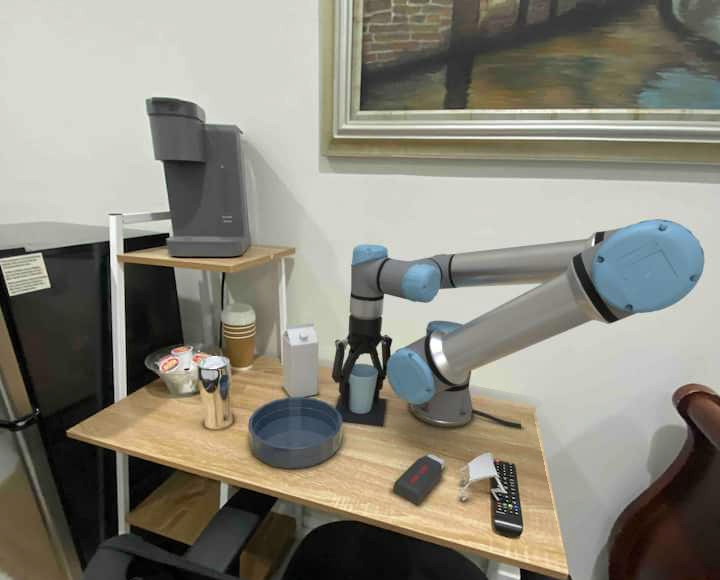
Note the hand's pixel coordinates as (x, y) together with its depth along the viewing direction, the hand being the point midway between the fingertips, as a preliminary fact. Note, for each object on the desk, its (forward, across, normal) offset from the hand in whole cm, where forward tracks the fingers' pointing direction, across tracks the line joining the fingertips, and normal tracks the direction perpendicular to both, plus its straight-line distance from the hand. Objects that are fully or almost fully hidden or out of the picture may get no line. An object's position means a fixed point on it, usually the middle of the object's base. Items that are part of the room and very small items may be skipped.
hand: (360, 403), depth 96 cm
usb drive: (+2, -1, +27) cm, 27 cm away
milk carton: (+2, +12, -14) cm, 18 cm away
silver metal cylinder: (+2, +33, -5) cm, 33 cm away
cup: (+2, 0, 0) cm, 2 cm away
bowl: (+2, +18, +7) cm, 19 cm away
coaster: (+2, 0, 0) cm, 2 cm away
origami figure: (+2, -12, +32) cm, 34 cm away
